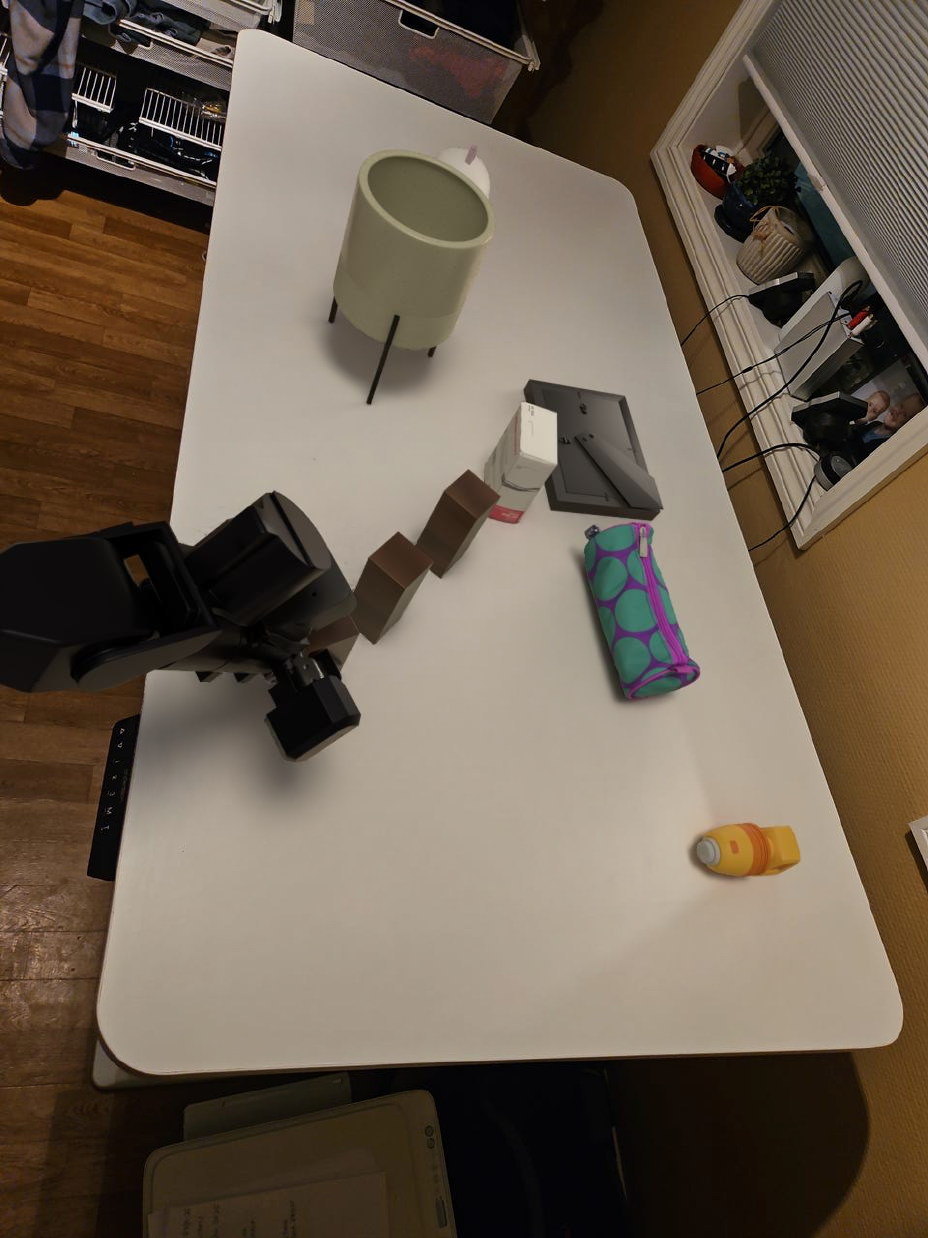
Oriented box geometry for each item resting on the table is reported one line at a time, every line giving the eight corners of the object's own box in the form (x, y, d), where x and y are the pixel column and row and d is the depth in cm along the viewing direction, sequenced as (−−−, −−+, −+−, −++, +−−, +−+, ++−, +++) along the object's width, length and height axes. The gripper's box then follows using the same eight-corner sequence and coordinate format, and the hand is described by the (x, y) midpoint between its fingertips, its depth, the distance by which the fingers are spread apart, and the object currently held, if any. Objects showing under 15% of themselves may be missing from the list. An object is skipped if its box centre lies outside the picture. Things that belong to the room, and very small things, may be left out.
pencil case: (565, 552, 91) (603, 508, 83) (624, 553, 94) (666, 511, 86) (609, 707, 82) (657, 675, 74) (672, 703, 86) (724, 671, 78)
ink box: (517, 525, 90) (559, 466, 80) (480, 515, 89) (519, 454, 79) (518, 473, 94) (559, 410, 84) (483, 462, 93) (521, 398, 83)
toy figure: (693, 883, 76) (783, 876, 80) (725, 875, 71) (819, 867, 75) (680, 831, 78) (768, 826, 82) (711, 820, 73) (803, 815, 77)
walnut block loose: (287, 708, 65) (309, 652, 55) (265, 666, 66) (283, 604, 56) (331, 689, 67) (360, 633, 58) (310, 649, 68) (334, 587, 59)
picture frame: (652, 520, 99) (617, 405, 108) (663, 508, 96) (627, 391, 105) (550, 510, 93) (523, 389, 102) (560, 497, 91) (531, 374, 100)
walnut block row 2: (440, 578, 82) (477, 519, 72) (410, 553, 82) (443, 490, 73) (462, 556, 85) (501, 496, 75) (433, 532, 85) (468, 468, 75)
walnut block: (374, 644, 75) (405, 589, 66) (342, 616, 76) (368, 557, 66) (400, 618, 78) (434, 561, 68) (369, 591, 78) (398, 530, 68)
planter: (308, 385, 89) (346, 214, 70) (330, 302, 97) (370, 129, 78) (425, 422, 93) (492, 270, 74) (437, 340, 101) (500, 184, 82)
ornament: (475, 248, 114) (505, 175, 104) (413, 227, 111) (437, 150, 101) (475, 209, 119) (503, 136, 109) (415, 188, 115) (438, 111, 106)
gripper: (367, 684, 43) (453, 685, 58) (237, 445, 48) (347, 502, 63) (231, 777, 46) (347, 755, 60) (119, 541, 50) (252, 574, 65)
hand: (325, 642), depth 62 cm, fingers closed on walnut block loose, 4 cm apart
